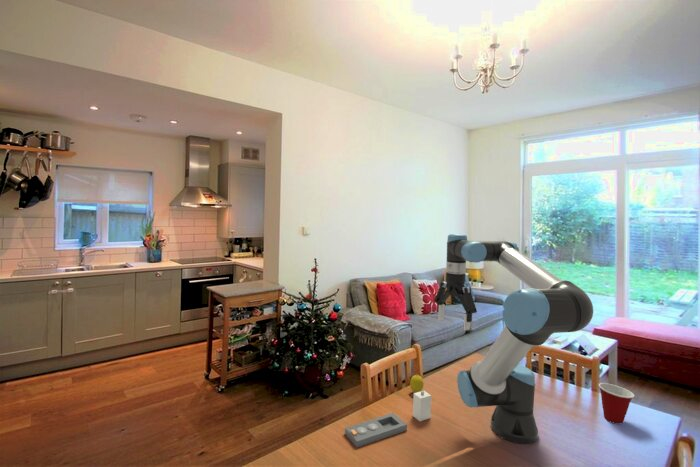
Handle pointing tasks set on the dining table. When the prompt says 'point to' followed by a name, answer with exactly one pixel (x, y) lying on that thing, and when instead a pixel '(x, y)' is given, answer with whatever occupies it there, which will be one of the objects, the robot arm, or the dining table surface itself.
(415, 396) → the block
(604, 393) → the plastic cup
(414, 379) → the lemon
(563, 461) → the dining table surface
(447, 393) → the dining table surface
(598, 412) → the dining table surface
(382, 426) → the power strip
